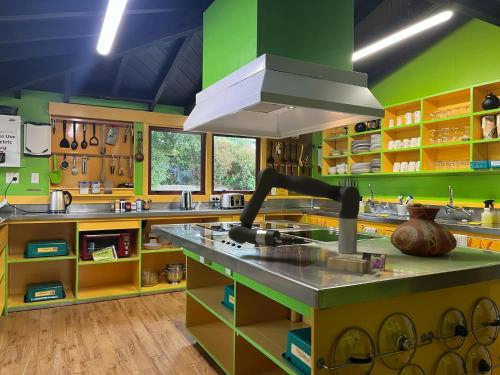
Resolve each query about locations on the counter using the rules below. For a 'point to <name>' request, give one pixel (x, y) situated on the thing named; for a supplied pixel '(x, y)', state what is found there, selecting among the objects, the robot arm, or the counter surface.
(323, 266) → the rubber mat
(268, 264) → the counter surface
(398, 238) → the brown clay pot
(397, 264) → the counter surface
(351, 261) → the beech block
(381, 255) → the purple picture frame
